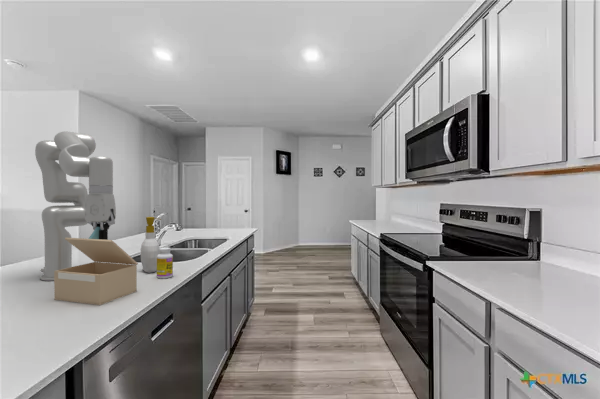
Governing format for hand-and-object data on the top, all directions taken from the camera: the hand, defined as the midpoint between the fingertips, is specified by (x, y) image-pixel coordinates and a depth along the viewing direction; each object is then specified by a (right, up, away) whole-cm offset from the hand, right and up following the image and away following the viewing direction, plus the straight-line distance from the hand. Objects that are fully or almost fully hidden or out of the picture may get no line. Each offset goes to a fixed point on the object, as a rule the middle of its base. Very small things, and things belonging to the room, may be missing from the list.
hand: (101, 240), depth 118 cm
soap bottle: (+2, -20, +36) cm, 41 cm away
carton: (-1, -20, -1) cm, 20 cm away
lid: (0, -5, 0) cm, 4 cm away
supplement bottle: (+13, -20, +25) cm, 34 cm away
